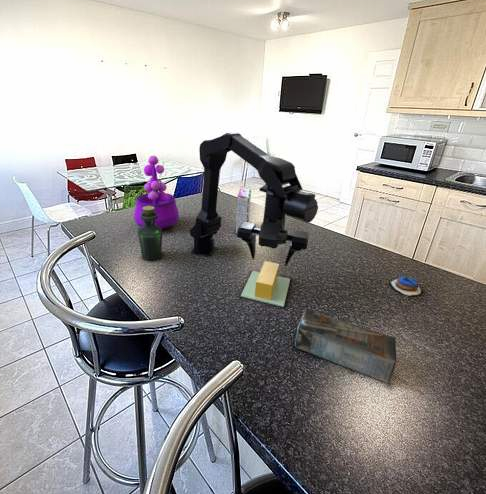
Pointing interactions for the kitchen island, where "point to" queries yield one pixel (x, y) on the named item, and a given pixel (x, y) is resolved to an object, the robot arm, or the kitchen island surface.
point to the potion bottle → (150, 235)
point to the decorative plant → (156, 198)
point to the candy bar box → (243, 207)
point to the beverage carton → (347, 345)
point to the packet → (266, 280)
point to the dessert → (406, 285)
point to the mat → (278, 292)
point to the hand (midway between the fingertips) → (269, 261)
